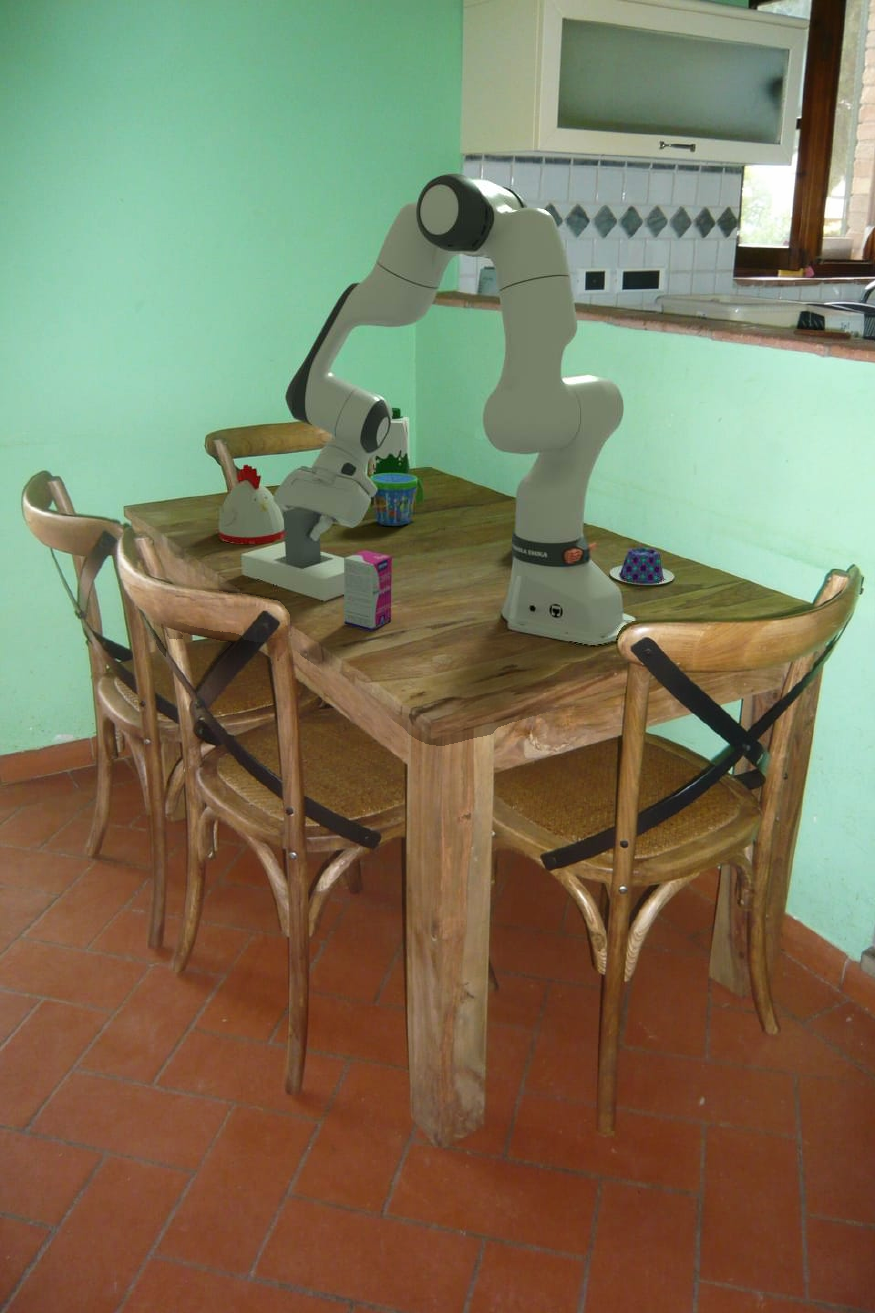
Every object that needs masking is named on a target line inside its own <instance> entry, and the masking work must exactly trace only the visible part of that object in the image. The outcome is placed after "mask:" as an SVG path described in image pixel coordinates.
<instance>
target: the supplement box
mask: <svg viewBox="0 0 875 1313" xmlns="http://www.w3.org/2000/svg"><path fill="white" fill-rule="evenodd" d="M343 558H344V594H343V595H344V596H343V598H344V603H343V604H344V605H343V606H344V607H343V608H344V618H343V619H344V621H343V622H344V625H345V624H346V625H345V626H348V625H350V626H349V627H353V626H354V627H355V628H357V629H361V630H365V631H369V632H372V631H375V630H376V629H378V628H379V627H381V626H384V625H385V624H387V623H386V622H388V621H390V622H391V621H392V576H393V574H392V573H393V572H392V568H393V567H392V566H393V565H392V564H393V563H392V562H393V558H392V556H391V555H388V554H387V555H386V554H382V553H377V552H373V551H369V550H363V551H362V550H361V551H360V552H357V553H354V554H352V555H349V556H346V557H343ZM384 623H385V624H384ZM388 623H389V622H388Z"/></svg>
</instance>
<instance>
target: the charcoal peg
mask: <svg viewBox="0 0 875 1313" xmlns="http://www.w3.org/2000/svg"><path fill="white" fill-rule="evenodd" d="M282 516H283V519H284V534H285V536H284V542H285V552H286V564H287V565H290V566H294V567H297V568H300V569H304V568H307V567H310V566H313V565H317V564H320V563H321V552H322V551H321V535H320V536H319V538H318V540H317V541H313V540H310V539H309V538H308V537H307V536H306V534H307V532H308V530H309V528H310V527H312V528H314V527H315V526H316V525H317V524H318V523H319V522H320V520H319V513H317V512H316V511H312V510H308V509H304V508H300V507H298V508H295V509H291V510H287V511H285V510H283V512H282Z"/></svg>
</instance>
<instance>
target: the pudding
mask: <svg viewBox="0 0 875 1313" xmlns="http://www.w3.org/2000/svg"><path fill="white" fill-rule="evenodd" d="M661 559H662V558H661V554H660V552H659V551H657V550H655V549H653V548H647V547H634V548H632V549H629V550H628V551H627V553H626V555H625V558H624V561H623V564H622V565H619V566H615V567H613V568H612V569H610V570H609V575H610V576H611V577H612V578H614V579H615V580H618V581H619V582H623V583H627V584H631V585H632V584H633V585H638V586H640V585H641V586H655V585H661V584H667V583H669V582H671V581H673V580H674V579H675V575H674V573H673V572H671V571H670V570H669V569H666V568H663V565H662V561H661ZM619 573H620V574H619ZM622 579H623V580H622ZM664 579H666V580H664ZM624 580H625V581H624ZM628 580H630V581H628ZM663 580H664V581H663ZM627 581H628V582H627ZM661 581H662V582H661ZM658 582H659V583H658Z"/></svg>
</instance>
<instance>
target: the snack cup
mask: <svg viewBox="0 0 875 1313" xmlns="http://www.w3.org/2000/svg"><path fill="white" fill-rule="evenodd" d="M369 478H370V479H371V481H372V482H373V483H374V484H375V486H376V487H377V489H378V490H377V492H376V494H375V495H374V496H373V497H372V498H373V507H374V511H375V512H374V513H375V518H376V521H377V522H378V523H379V525H381V526H387V527H400V526H404V525H406V524H410V522H411V520H412V516H413V515H412V514H413V508H414V500H415V501H416V503H418V504H423V503H424V500H425V493H424V492H425V490H424V487H423V484H422V481H421V480H420V479H419V478H418V477H417V475H413V474H404V473H382V474H376V475H373V474H372V475H371V476H370V477H369ZM416 488H417V490H416ZM415 491H416V492H415ZM415 493H416V496H415ZM370 506H371V505H370ZM370 506H369V508H368V510H367V512H366V514H370V513H371V507H370Z"/></svg>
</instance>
